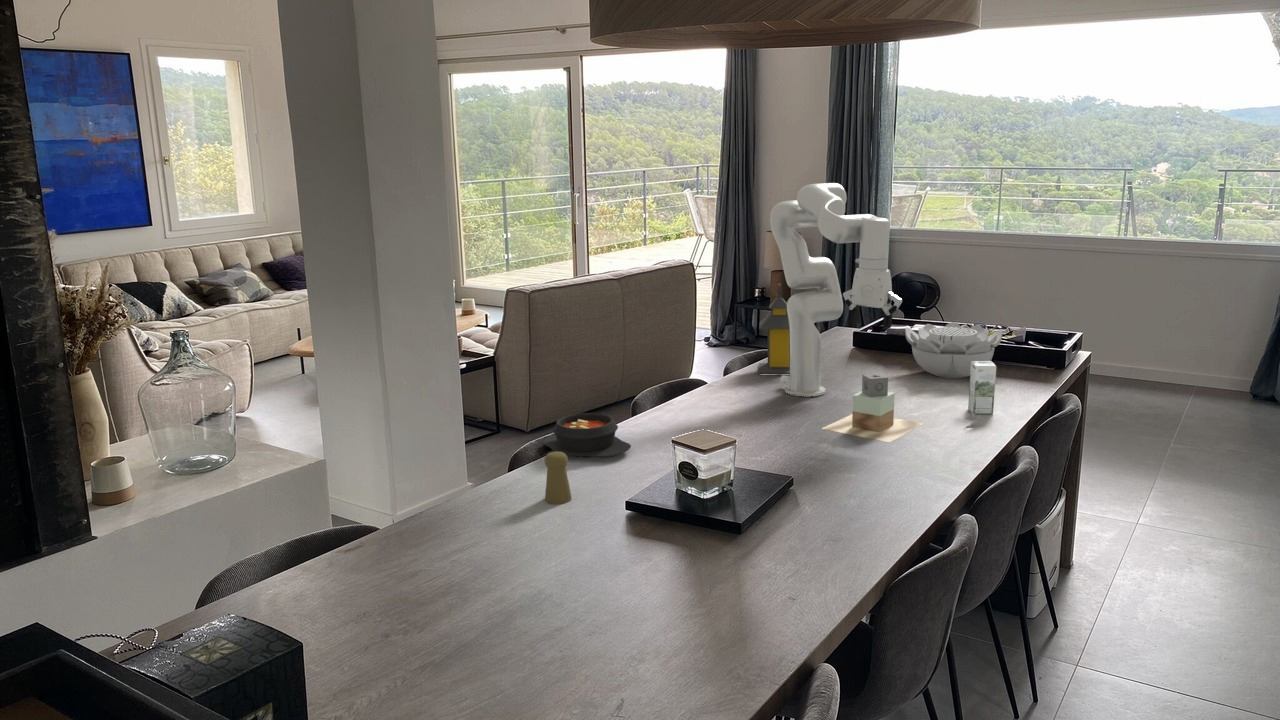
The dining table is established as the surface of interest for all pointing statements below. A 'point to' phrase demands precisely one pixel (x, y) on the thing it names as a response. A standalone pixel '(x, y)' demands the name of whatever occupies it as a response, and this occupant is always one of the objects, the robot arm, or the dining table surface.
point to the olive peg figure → (557, 479)
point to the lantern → (777, 338)
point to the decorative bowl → (951, 348)
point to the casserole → (586, 436)
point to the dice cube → (875, 385)
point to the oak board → (886, 435)
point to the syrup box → (982, 387)
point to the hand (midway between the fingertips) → (870, 326)
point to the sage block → (873, 403)
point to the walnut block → (872, 421)
